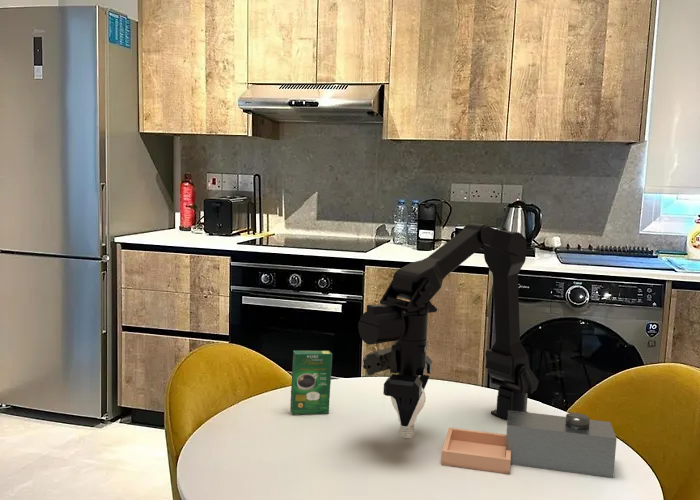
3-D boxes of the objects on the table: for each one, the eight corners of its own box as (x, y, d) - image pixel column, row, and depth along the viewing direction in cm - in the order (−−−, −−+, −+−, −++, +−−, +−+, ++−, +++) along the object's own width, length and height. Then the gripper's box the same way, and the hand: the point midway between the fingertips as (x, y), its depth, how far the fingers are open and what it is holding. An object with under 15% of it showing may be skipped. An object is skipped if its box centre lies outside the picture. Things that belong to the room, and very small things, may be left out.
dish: (448, 440, 128) (448, 427, 128) (510, 448, 125) (511, 435, 125) (441, 464, 117) (442, 450, 117) (509, 474, 114) (510, 460, 114)
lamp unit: (504, 463, 119) (507, 416, 118) (505, 445, 127) (508, 401, 126) (613, 477, 114) (617, 429, 113) (607, 458, 122) (610, 412, 121)
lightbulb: (421, 447, 121) (424, 387, 120) (387, 443, 122) (389, 384, 121) (425, 434, 127) (427, 377, 126) (391, 430, 128) (394, 374, 127)
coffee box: (327, 409, 142) (330, 348, 141) (330, 414, 140) (332, 352, 138) (289, 410, 141) (291, 349, 139) (291, 415, 138) (293, 353, 136)
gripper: (378, 323, 133) (375, 399, 135) (356, 345, 115) (353, 433, 117) (434, 328, 131) (430, 405, 133) (420, 351, 113) (416, 441, 115)
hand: (407, 420), depth 124 cm, fingers closed on lightbulb, 6 cm apart
